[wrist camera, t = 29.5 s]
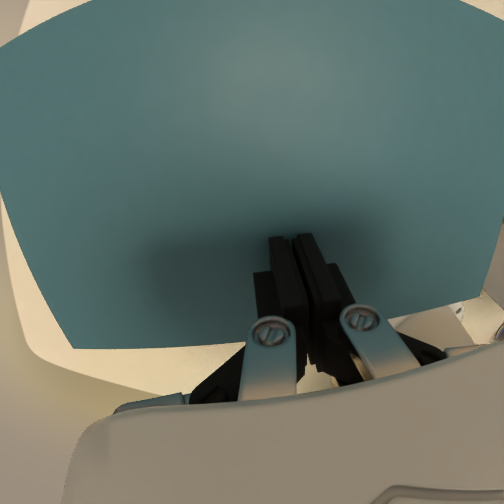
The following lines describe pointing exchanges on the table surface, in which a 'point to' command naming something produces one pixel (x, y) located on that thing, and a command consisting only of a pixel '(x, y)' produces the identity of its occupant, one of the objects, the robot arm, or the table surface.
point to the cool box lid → (249, 157)
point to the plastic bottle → (496, 272)
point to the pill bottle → (500, 334)
